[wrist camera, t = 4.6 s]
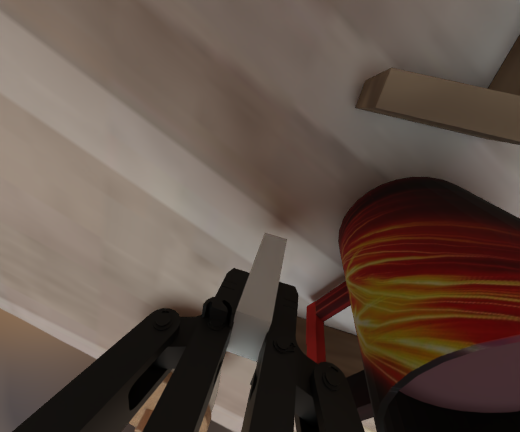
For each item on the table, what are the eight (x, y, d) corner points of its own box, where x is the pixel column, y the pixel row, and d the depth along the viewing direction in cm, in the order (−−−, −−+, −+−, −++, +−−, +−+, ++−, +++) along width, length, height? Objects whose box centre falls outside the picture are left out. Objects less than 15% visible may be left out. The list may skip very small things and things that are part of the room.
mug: (305, 300, 22) (300, 482, 11) (370, 159, 16) (499, 271, 5) (406, 333, 21) (503, 562, 10) (517, 200, 15) (1043, 434, 4)
